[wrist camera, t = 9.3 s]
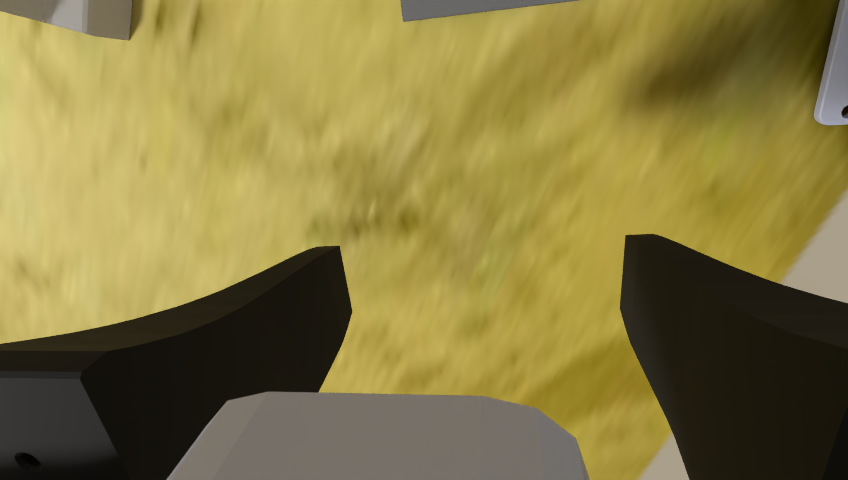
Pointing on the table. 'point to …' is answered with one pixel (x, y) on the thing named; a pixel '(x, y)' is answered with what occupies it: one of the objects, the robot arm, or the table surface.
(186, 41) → the table surface
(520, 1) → the mat
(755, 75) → the table surface
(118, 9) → the hinge
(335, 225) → the table surface
